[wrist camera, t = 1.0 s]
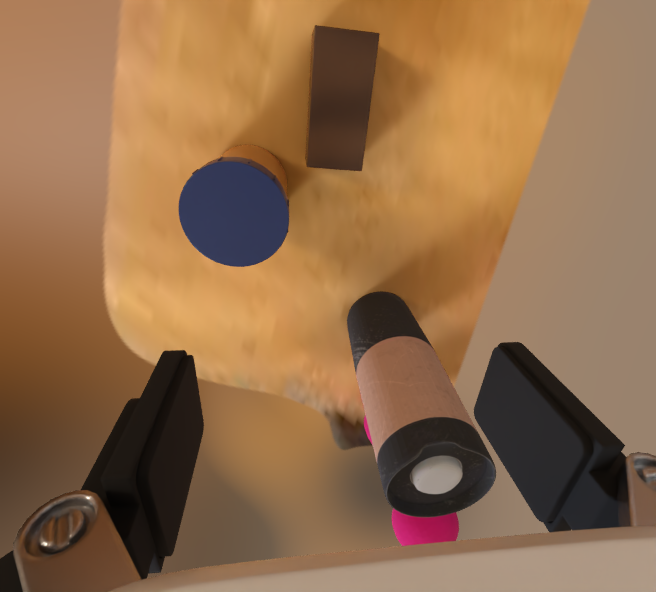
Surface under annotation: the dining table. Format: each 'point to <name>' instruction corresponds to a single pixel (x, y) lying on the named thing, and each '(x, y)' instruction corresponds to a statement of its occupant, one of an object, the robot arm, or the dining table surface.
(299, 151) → the dining table surface
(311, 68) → the stand
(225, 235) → the jar lid
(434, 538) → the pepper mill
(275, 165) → the jam jar
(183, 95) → the dining table surface
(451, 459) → the travel mug
